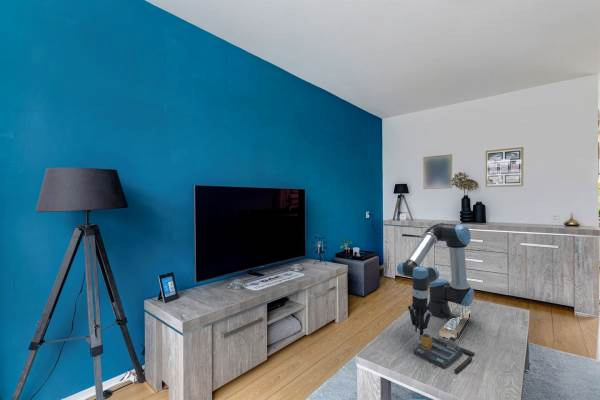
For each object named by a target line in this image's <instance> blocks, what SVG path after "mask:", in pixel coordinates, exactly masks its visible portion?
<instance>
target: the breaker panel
mask: <svg viewBox="0 0 600 400" xmlns="http://www.w3.org/2000/svg"><path fill="white" fill-rule="evenodd" d="M431 336H432V335H431ZM459 340H460V339H457V338H456V337H453V336H449V337H448V338H447V339H446V340H445V341H447V342H445V341H442V340H440V339H438V338H437V337H435V336H432V348H431V349H427V348H425V347H423V346H421V342H420V343H418V344H417V346H416V347H415V348H413V355H416V356H418V357H419V358H422V359H424V360H426V361H428V362H430V363H432V364H434V365H436V366H438V367H440V368H442V369H444V370H445V369H446V368H448V367H449V366H450V365H452V363H454V362H456V361H457V360H458V359H459V358H460V357H461V356H463V352H462V351H461V348H459V343H460V341H459Z"/></svg>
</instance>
